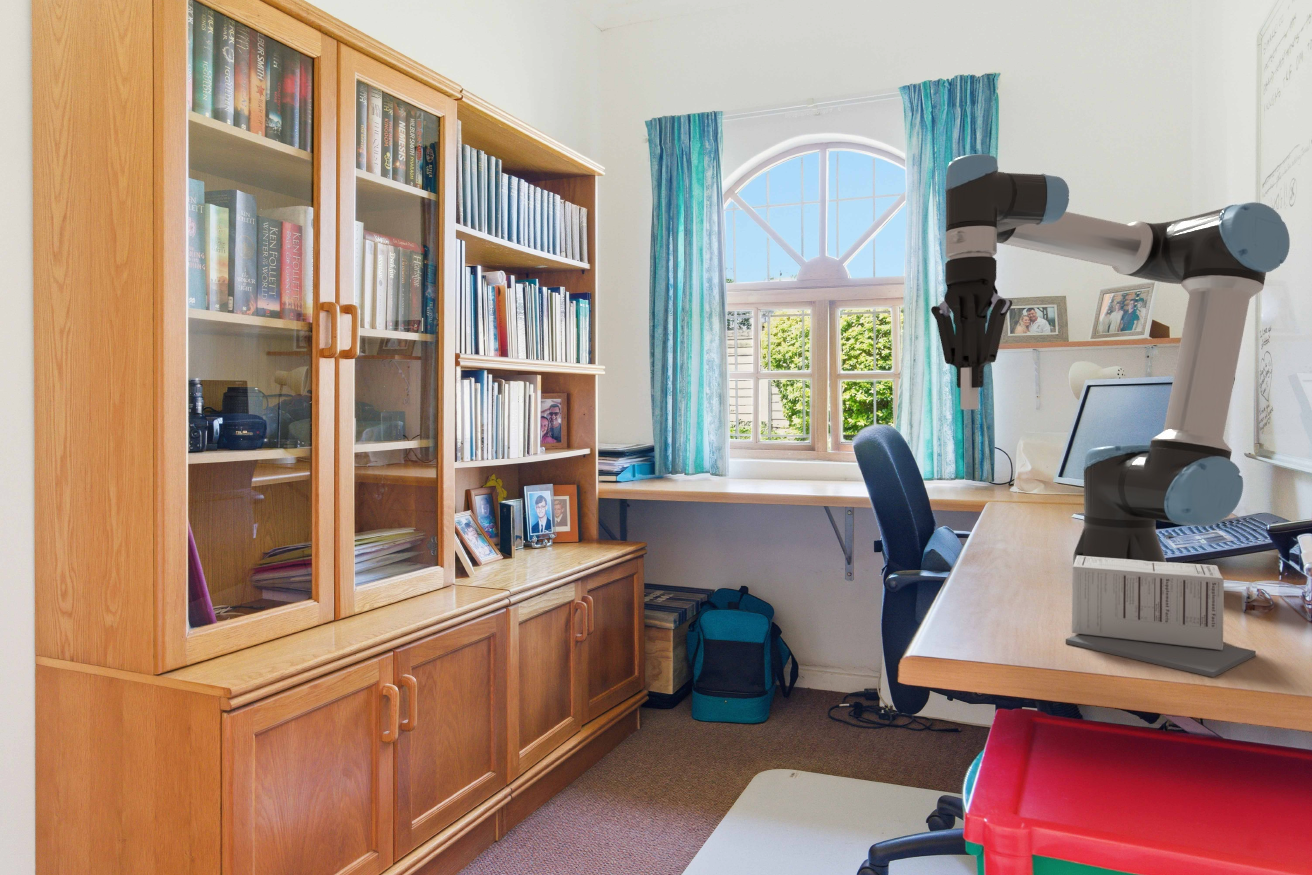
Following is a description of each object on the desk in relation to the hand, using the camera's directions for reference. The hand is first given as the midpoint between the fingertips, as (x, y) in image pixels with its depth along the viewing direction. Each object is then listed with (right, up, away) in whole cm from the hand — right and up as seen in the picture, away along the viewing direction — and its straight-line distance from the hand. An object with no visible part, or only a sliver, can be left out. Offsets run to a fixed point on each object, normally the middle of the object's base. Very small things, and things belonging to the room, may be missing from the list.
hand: (969, 409), depth 131 cm
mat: (+14, -31, -26) cm, 43 cm away
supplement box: (+8, -26, -17) cm, 32 cm away
